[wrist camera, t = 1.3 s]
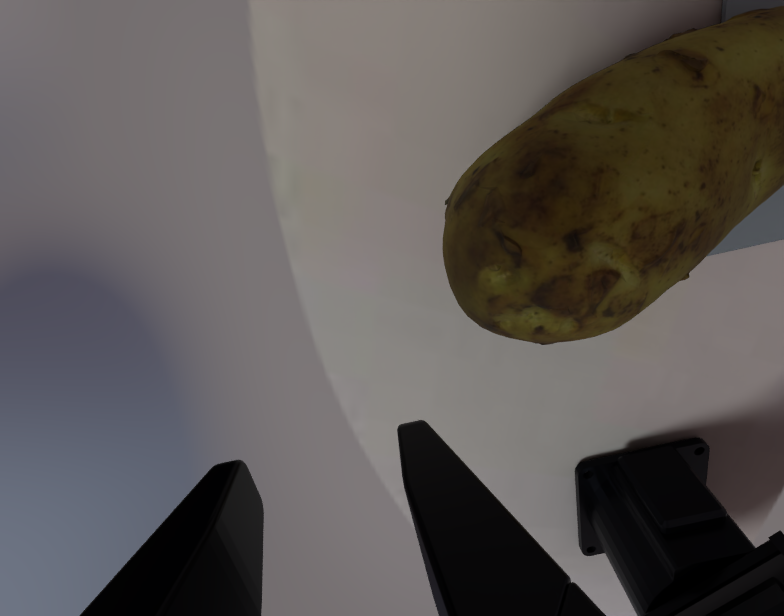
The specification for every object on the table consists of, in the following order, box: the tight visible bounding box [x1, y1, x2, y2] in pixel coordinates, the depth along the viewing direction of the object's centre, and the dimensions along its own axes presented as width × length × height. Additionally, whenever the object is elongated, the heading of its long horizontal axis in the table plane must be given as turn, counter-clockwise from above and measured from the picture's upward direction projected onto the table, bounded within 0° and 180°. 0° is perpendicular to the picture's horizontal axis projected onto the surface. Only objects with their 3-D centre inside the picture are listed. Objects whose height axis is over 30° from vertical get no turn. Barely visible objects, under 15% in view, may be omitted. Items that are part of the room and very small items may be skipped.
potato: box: [443, 6, 784, 345], centre depth 16 cm, size 8×13×8 cm, turn 98°
